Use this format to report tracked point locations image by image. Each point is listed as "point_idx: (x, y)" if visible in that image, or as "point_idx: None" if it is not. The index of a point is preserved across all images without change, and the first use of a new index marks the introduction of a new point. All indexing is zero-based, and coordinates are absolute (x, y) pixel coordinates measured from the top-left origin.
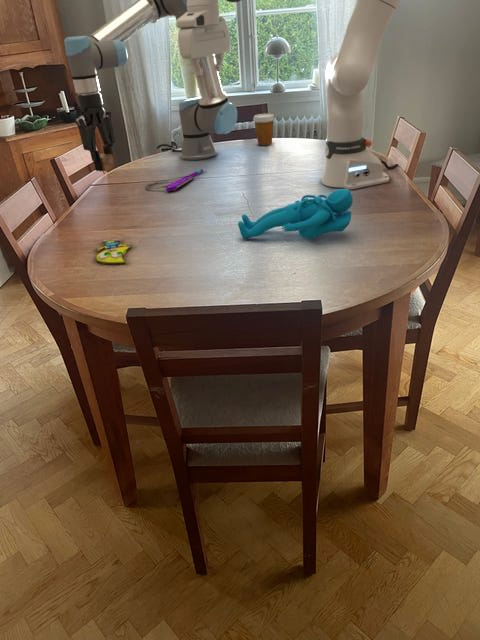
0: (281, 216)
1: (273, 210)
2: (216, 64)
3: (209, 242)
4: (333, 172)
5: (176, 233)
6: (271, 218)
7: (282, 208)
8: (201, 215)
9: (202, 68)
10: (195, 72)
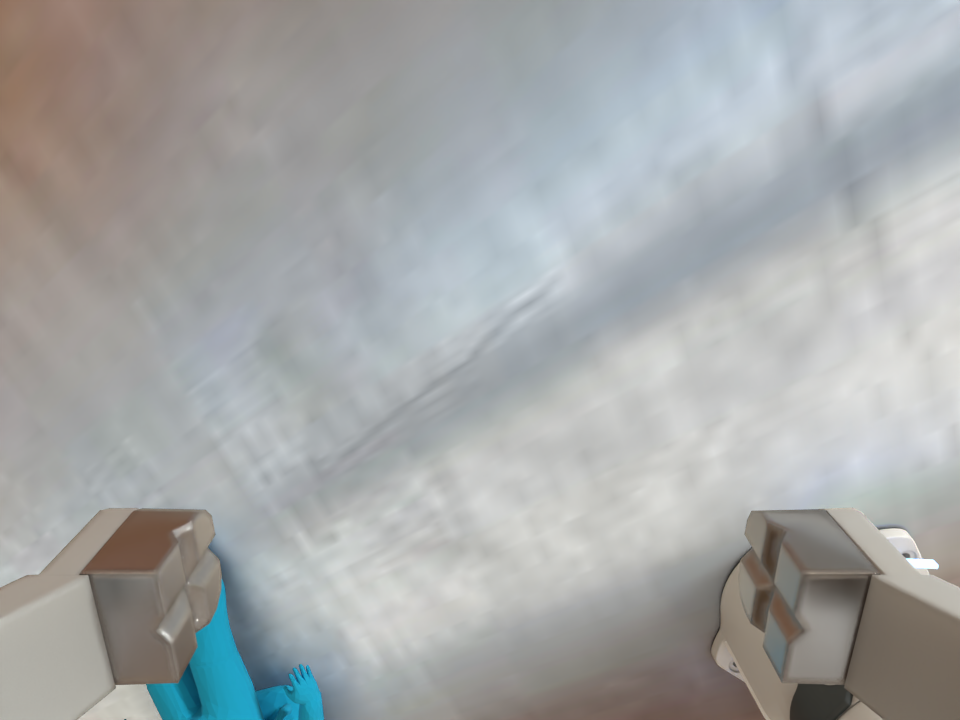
0: (160, 715)
1: (199, 667)
2: (818, 617)
3: (49, 466)
4: (756, 630)
5: (26, 307)
6: (146, 684)
7: (204, 702)
8: (225, 280)
9: (170, 680)
10: (80, 536)
